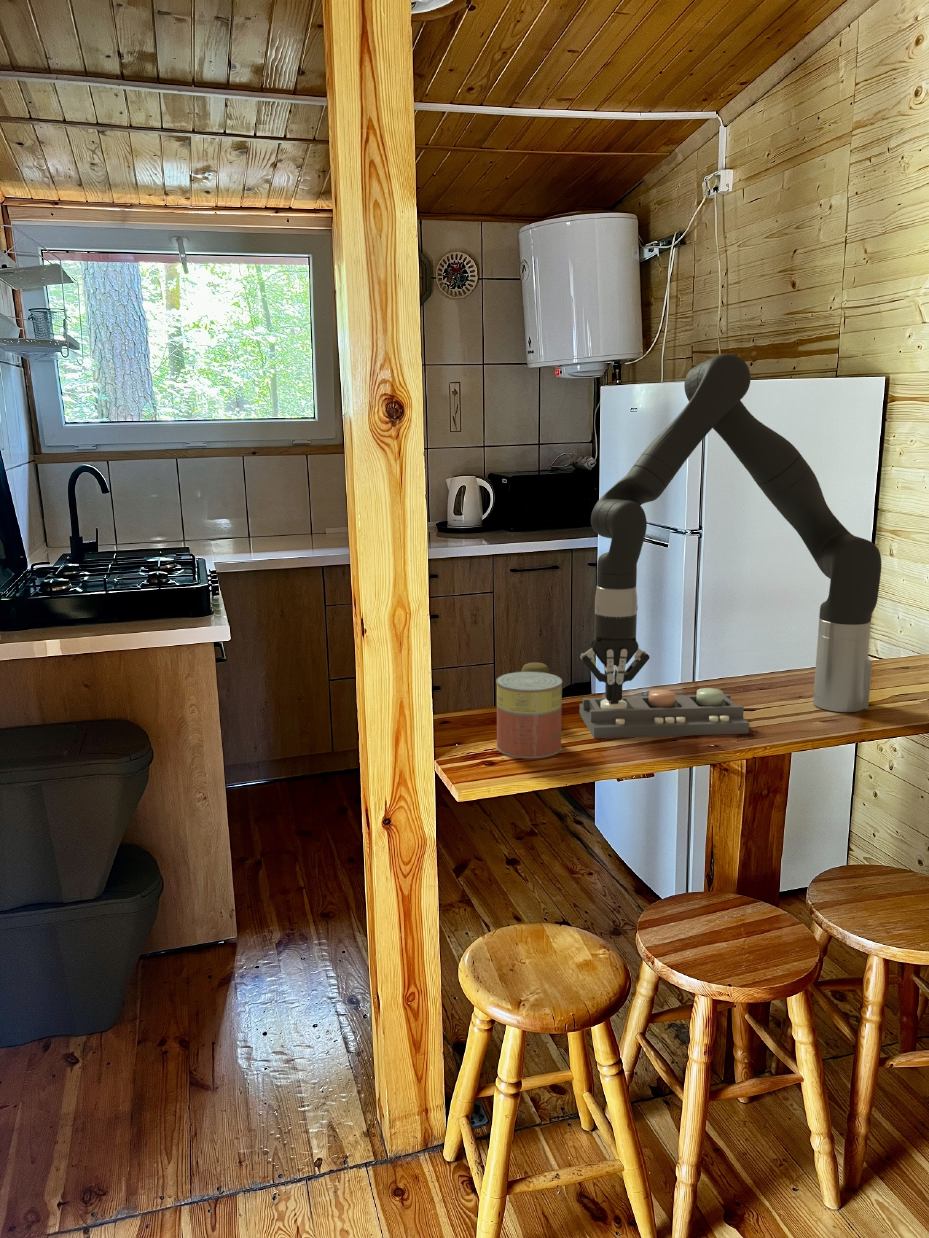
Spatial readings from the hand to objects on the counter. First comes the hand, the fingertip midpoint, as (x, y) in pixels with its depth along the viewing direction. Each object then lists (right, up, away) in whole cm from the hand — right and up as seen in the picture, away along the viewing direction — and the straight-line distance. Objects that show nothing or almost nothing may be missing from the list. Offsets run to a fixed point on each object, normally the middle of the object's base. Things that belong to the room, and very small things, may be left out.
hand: (613, 702), depth 170 cm
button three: (+9, 0, +1) cm, 9 cm away
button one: (0, -2, 0) cm, 2 cm away
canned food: (-16, -7, -10) cm, 20 cm away
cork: (-14, -4, +4) cm, 15 cm away
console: (+9, -4, +1) cm, 10 cm away
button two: (+18, 0, +1) cm, 18 cm away
